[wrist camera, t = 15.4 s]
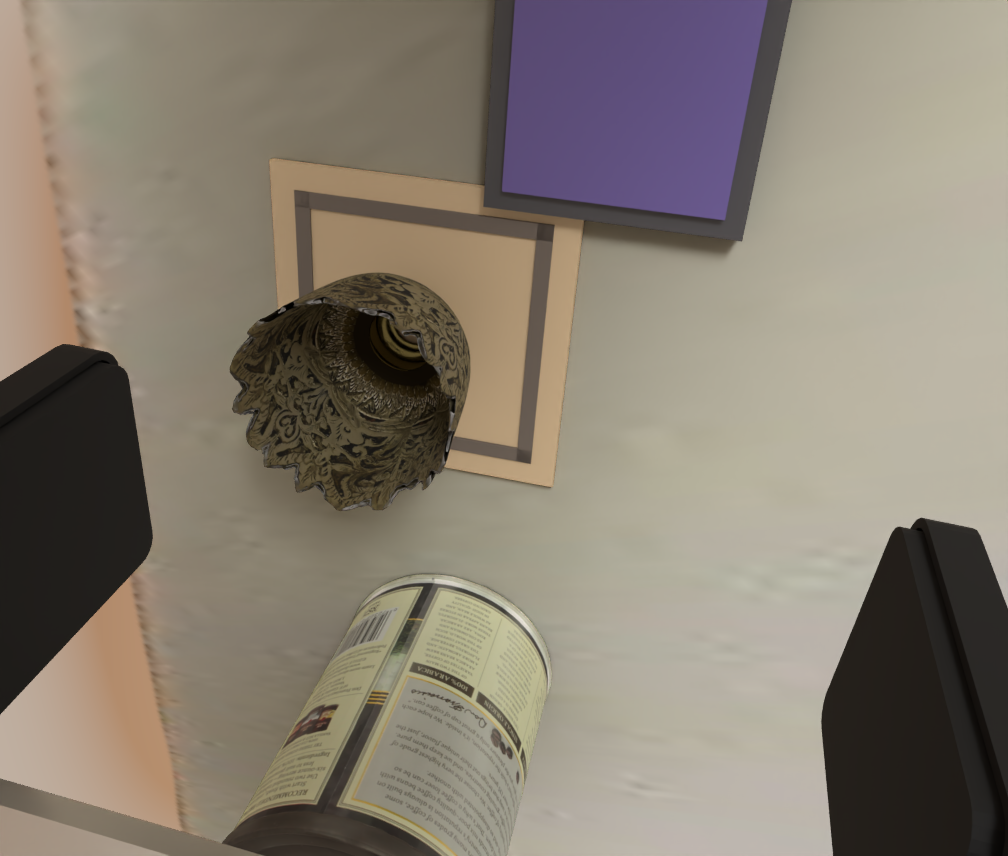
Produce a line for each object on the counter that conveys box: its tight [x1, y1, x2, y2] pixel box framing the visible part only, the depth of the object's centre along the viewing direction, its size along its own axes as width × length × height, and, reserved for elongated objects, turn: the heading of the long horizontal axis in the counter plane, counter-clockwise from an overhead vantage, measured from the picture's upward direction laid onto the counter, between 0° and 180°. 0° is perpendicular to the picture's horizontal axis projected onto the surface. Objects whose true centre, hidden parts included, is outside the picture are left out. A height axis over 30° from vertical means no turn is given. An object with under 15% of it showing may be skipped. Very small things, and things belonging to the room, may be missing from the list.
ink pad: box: [483, 0, 792, 241], centre depth 28 cm, size 11×9×1 cm
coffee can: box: [222, 574, 552, 856], centre depth 37 cm, size 10×10×14 cm
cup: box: [230, 273, 471, 511], centre depth 31 cm, size 8×7×8 cm
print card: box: [269, 158, 584, 487], centre depth 35 cm, size 12×12×1 cm
